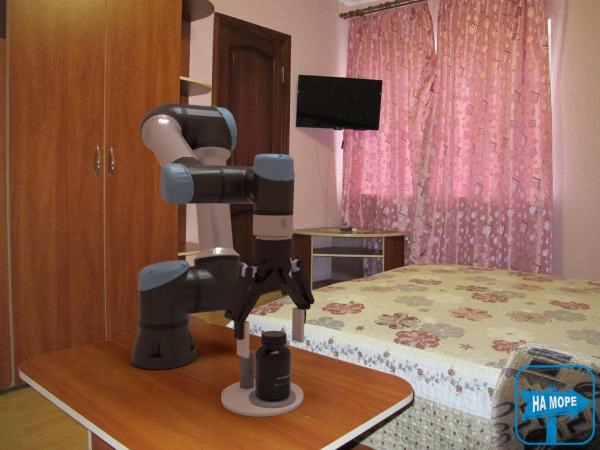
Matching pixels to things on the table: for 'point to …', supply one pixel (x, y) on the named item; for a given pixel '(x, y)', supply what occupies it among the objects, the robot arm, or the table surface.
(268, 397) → the supplement bottle
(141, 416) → the table surface
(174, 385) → the table surface
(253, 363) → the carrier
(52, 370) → the table surface
